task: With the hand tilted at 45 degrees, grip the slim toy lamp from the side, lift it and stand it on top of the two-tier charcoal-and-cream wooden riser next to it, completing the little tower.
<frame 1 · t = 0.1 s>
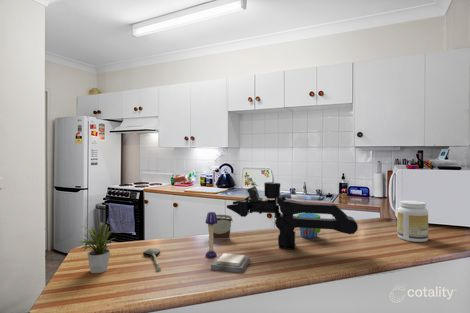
hand: (229, 204, 131), 17 cm above the counter, tool horizontal, fingers open, 9 cm apart
snack cup: (308, 236, 139), on the counter
supplement tub: (412, 239, 135), on the counter
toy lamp: (211, 256, 113), on the counter
food container: (220, 237, 139), on the counter
house plant: (97, 269, 100), on the counter
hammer: (154, 261, 109), on the counter
riser: (231, 265, 104), on the counter
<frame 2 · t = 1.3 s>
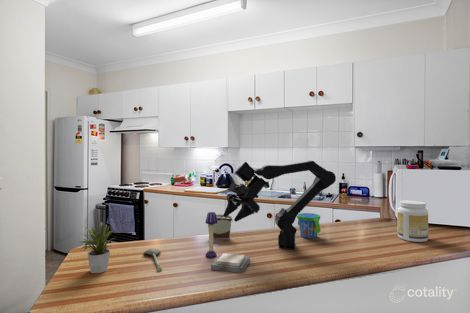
hand: (229, 218, 117), 13 cm above the counter, tool tilted 45°, fingers open, 9 cm apart
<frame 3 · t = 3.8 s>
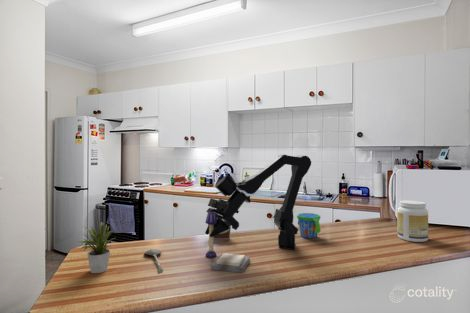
hand: (208, 235, 113), 8 cm above the counter, tool tilted 45°, fingers closed on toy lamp, 4 cm apart
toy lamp: (211, 256, 113), on the counter, touching gripper
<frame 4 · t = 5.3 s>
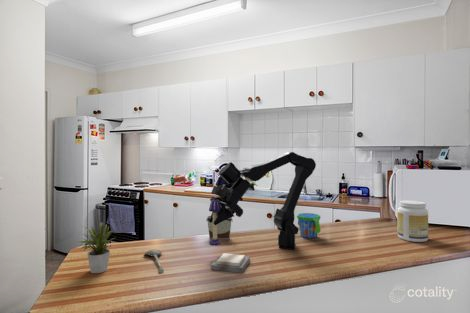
hand: (211, 223, 111), 13 cm above the counter, tool tilted 45°, fingers closed on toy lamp, 4 cm apart
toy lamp: (215, 244, 112), point 5 cm above the counter, touching gripper
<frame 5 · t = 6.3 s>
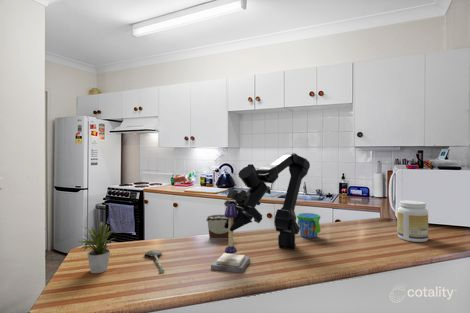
hand: (227, 229, 103), 13 cm above the counter, tool tilted 45°, fingers closed on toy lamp, 4 cm apart
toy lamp: (231, 252, 104), point 5 cm above the counter, touching gripper
when the fingers open (12 cm above the counter, at t = 6.8 s): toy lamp stays where it is, resting on riser.
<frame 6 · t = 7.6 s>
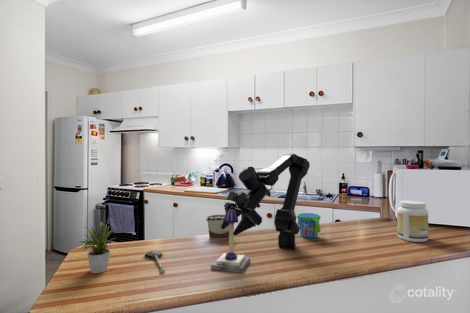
hand: (227, 231, 103), 12 cm above the counter, tool tilted 45°, fingers open, 9 cm apart
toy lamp: (231, 258, 104), point 2 cm above the counter, touching riser
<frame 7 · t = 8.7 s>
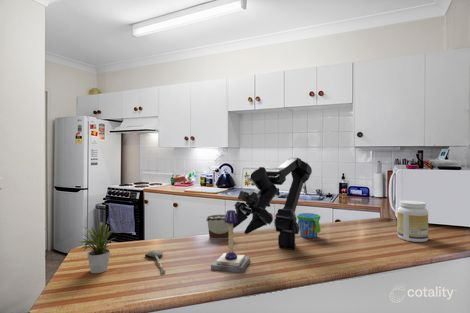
hand: (238, 230, 105), 12 cm above the counter, tool tilted 45°, fingers open, 9 cm apart
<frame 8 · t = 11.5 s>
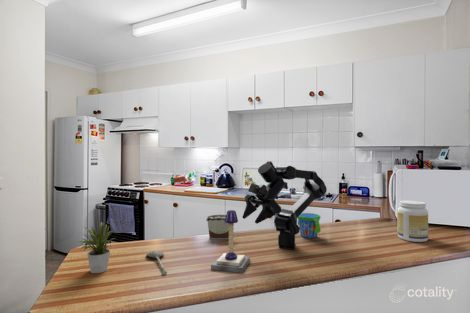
hand: (249, 220, 113), 14 cm above the counter, tool tilted 45°, fingers open, 9 cm apart
at the end: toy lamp 0.3 cm off-centre on the riser, point 2.3 cm above the riser's base; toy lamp tilted 0°; the gripper is holding nothing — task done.
